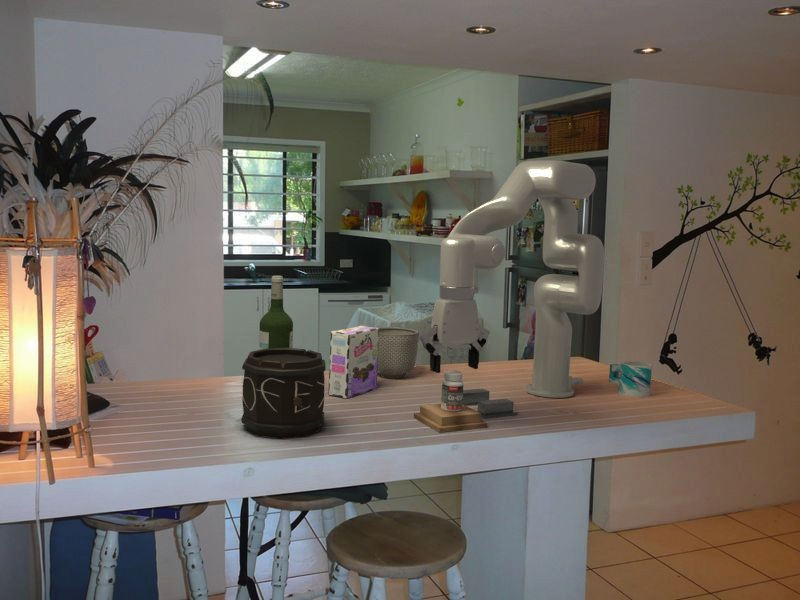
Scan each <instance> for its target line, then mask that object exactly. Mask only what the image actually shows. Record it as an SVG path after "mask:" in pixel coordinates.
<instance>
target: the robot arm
mask: <svg viewBox="0 0 800 600" xmlns="http://www.w3.org/2000/svg"><path fill="white" fill-rule="evenodd" d="M594 172H595V171H594V170H593V169H592V168H591V167H590V166H589V165H587V164H584V163H578V162H570V161H567V160H566V161H565V160H559V159H558V160H555V159H554V160H553V159H552V160H549V159H548V160H547V159H545V160H544V159H542V160H540V159H539V160H536V159H535V160H526V161H525V160H524V161H522V162H520V163H518V164H517V165H516V166H515V167H514V169H513V170H512V172H511V173H510V175H509V176H508V178H507V179H506V180H505V181H504V182H503V184H502V186H501V187H500V189H498V192H497V193H496V194H495V196H494V197H493V198H492V199H491V200H489V201H487V202H485V203H483V204H482V205H480V206H477V207H476V208H475V209H473V210H472V211H471V210H470V212H468V213H467V214H465V215H464V216H463V217H462V218H461V219H460V220H459V221H458V222H457V223H456V224H455V225H454V227H453V228H452V230H451V231H450V233H449V234H448V236H447V237H445V238H443V239H442V240H441V243H440V264H439V266H440V267H439V268H440V269H439V297H438V299H436V300H435V302H434V307H433V311H432V315H431V316H432V317H431V325H430V327H431V328H429V329H427V330H426V331H425V332H423V333H422V334H419V340H420V341H421V344H422V347H423V348H424V349H425V350H426V351H427V353H428V354H429V368H430V371H431V372H434V373H436V374H440V373H441V363H442V362H441V361H442V359H441V357H442V356H441V355H440V352H441V351H442V350H443V348H444V347H451V346H452V347H454V346H465V345H468V346H469V349H468V355H467V356H468V357H467V358H468V359H467V361H468V362H467V364H468V365H467V366H468V367H469V368H471V369H474V370H478V368H479V364H480V352H482V350H483V347H484V346H485V345H486V343H487V339H488V338H489V336H490V333H491V331H490V330H489V329H487V328H485V327H483V326H482V325H479V323H480V322H479V310H478V306H477V300H476V299H475V294H478V293H479V288H478V287H476V286H475V270H477V269H478V270H486V271H487V270H488V271H489V270H494V269H496V268H498V267H499V266H500V265H502V263H503V262H504V260H505V257H506V248H505V245H504V243H503V242H502V240H500V239H499V238H497V237H494V236H490V235H487V234H490V233H493V232H497V231H499V230H500V231H501V230H504V229H508V228H511V227H513V226H516V225H518V224H520V223H522V222H523V220H524V219H525V217H526V215H527V214H528V212H530V210H531V208H532V206H533V205H534V203H535V202H536V201H537V200H538V202H539V203H540V205H541V207H542V210H543V215H544V227H543V238H542V239H543V241H542V260H543V263H544V265H545V266H546V267H548V268H550V269H557V270H565V271H573V272H574V271H575V272H578V276H576V275H568V274H558V273H549V274H544V275H542V276H540V277H539V278H538V279H537V280H536V281H535V284H534V287H533V300H534V305H535V332H534V344H533V346H534V347H533V360H532V361H533V362H532V376H531V383H528V384H526V385H525V391H526V392H527V393H528V394H531V395H534V396H538V397H543V398H551V399H552V398H553V399H554V398H555V399H559V398H560V399H562V398H563V399H564V398H570V397H572V396H574V393H575V390H574V389H573V388H572V387H573V386H574V385H576V386H578V385H582V384H583V383H584V379H583V378H582V376H581V377H580V376H578V377H573V376H571V375H570V367H571V365H570V364H571V351H572V350H571V349H572V338H573V326H572V322H571V320H570V318H569V315H568V314H567V313H569V314H575V315H576V314H577V315H578V314H579V315H585V316H586V315H592V314H595V313H596V312H597V310H598V309H599V307H600V305H601V302H602V295H603V282H604V272H605V270H604V269H605V248H604V244H603V242H602V240H601V239H600V238H599V237H598V236H596V235H595V234H594V235H593V234H590V233H589V234H587V233H585V234H584V233H578V230H579V229H578V228H579V227H578V223H579V222H578V221H579V213H578V210H577V207H576V205H575V203H574V202H573V200H585V199H587V198H588V197H590V196H591V195H592V193H593V192H594V191H595V188H596V181H597V180H596V179H597V178H596V175H595V173H594ZM479 333H480V337H479ZM430 341H431V342H432V343H431V342H430Z"/></svg>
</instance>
